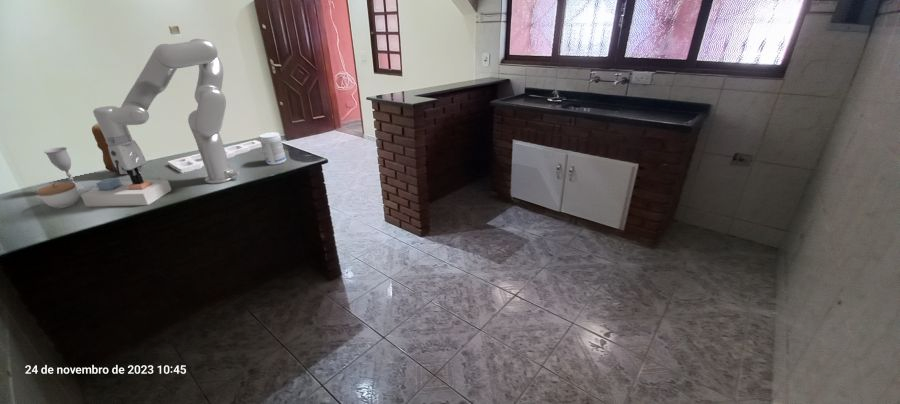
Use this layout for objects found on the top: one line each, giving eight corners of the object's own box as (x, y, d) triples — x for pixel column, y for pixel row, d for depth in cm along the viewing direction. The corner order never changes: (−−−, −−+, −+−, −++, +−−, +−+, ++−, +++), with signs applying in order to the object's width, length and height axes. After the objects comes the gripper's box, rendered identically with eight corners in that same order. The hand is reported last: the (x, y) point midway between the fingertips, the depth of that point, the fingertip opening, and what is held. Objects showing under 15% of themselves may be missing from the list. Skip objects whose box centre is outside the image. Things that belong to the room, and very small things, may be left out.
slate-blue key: (122, 184, 146) (118, 178, 145) (112, 189, 142) (108, 183, 141) (109, 185, 146) (106, 178, 145) (99, 190, 142) (96, 183, 140)
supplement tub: (287, 158, 188) (281, 131, 182) (284, 164, 180) (277, 136, 173) (268, 159, 187) (261, 132, 180) (264, 166, 178) (256, 137, 172)
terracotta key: (152, 187, 147) (149, 180, 146) (143, 192, 143) (140, 185, 141) (140, 187, 147) (137, 180, 146) (131, 192, 143) (128, 185, 141)
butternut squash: (137, 166, 180) (115, 117, 168) (152, 170, 175) (131, 120, 163) (104, 175, 169) (78, 124, 157) (119, 180, 164) (94, 127, 152)
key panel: (171, 190, 153) (167, 179, 151) (148, 204, 141) (143, 193, 138) (115, 191, 152) (110, 180, 150) (86, 206, 140) (80, 195, 138)
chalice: (90, 186, 157) (70, 148, 149) (72, 193, 151) (50, 153, 143) (80, 184, 159) (60, 146, 151) (61, 190, 154) (39, 151, 145)
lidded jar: (46, 205, 141) (33, 184, 137) (82, 196, 148) (71, 176, 144) (47, 214, 135) (34, 191, 130) (85, 204, 142) (73, 183, 138)
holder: (256, 144, 212) (254, 140, 211) (271, 150, 203) (270, 145, 201) (169, 166, 181) (167, 161, 180) (182, 174, 171) (180, 169, 170)
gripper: (113, 145, 129) (134, 190, 137) (143, 134, 142) (160, 176, 150) (92, 145, 128) (114, 191, 137) (124, 134, 142) (142, 176, 150)
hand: (138, 183), depth 144 cm, fingers closed
